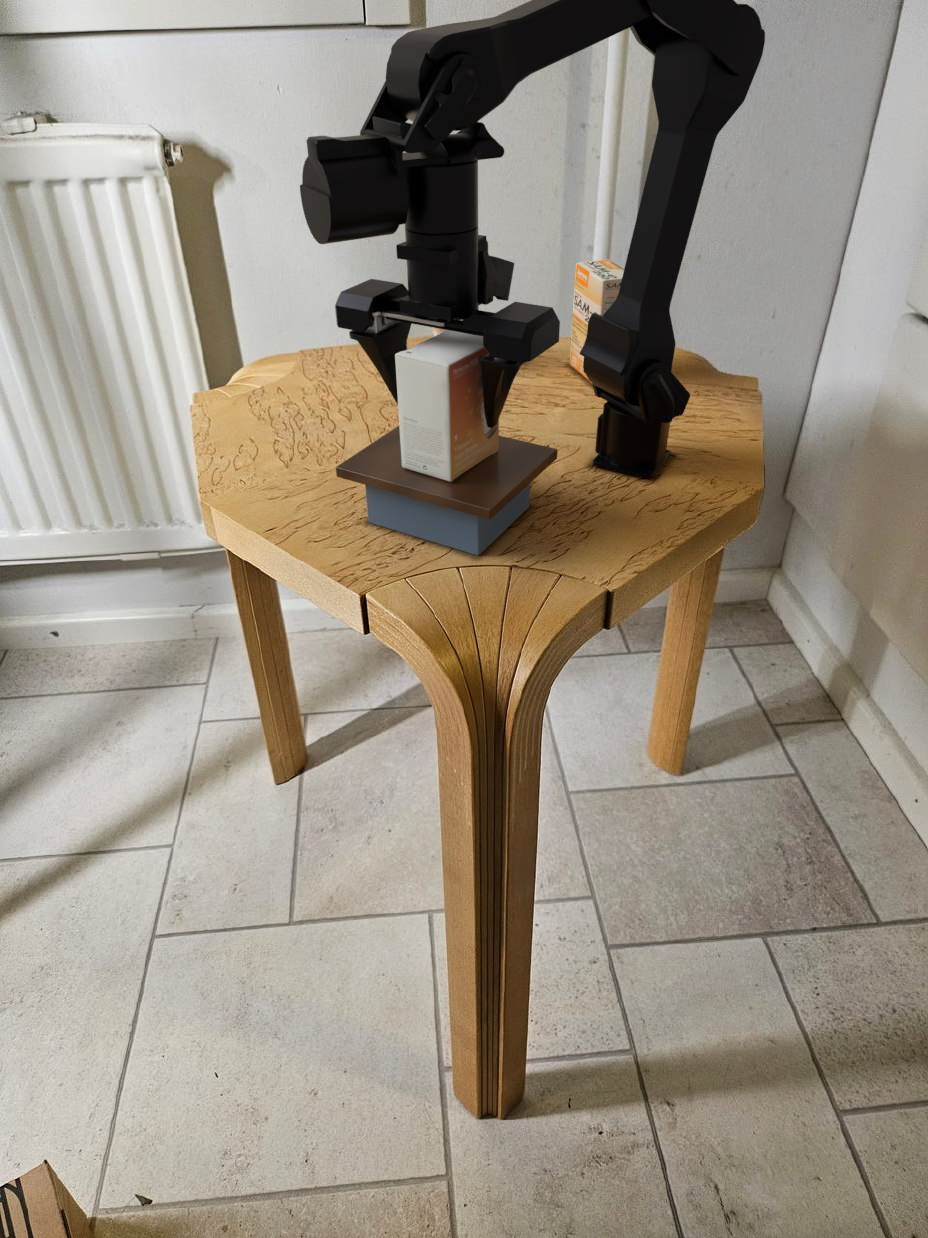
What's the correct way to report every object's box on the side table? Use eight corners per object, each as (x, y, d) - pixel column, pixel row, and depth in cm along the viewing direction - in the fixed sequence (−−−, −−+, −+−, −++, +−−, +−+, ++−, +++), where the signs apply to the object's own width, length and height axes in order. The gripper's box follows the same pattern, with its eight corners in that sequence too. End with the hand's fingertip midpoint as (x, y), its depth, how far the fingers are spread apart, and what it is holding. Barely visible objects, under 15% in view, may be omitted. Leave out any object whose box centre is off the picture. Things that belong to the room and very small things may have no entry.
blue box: (529, 507, 83) (531, 460, 80) (478, 556, 76) (478, 506, 73) (425, 479, 88) (423, 434, 85) (368, 522, 81) (363, 475, 78)
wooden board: (557, 458, 80) (557, 448, 79) (490, 520, 71) (490, 509, 71) (414, 424, 87) (413, 415, 86) (336, 476, 78) (335, 466, 77)
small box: (450, 484, 74) (447, 366, 68) (400, 468, 77) (392, 352, 70) (500, 450, 79) (502, 337, 73) (451, 436, 82) (449, 325, 76)
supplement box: (567, 365, 113) (573, 261, 105) (600, 361, 114) (609, 257, 106) (593, 388, 106) (602, 279, 99) (628, 383, 108) (640, 275, 100)
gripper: (594, 217, 68) (580, 403, 77) (399, 196, 76) (408, 368, 85) (530, 249, 60) (524, 451, 70) (321, 222, 68) (341, 407, 78)
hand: (446, 415), depth 76 cm, fingers open, 9 cm apart
